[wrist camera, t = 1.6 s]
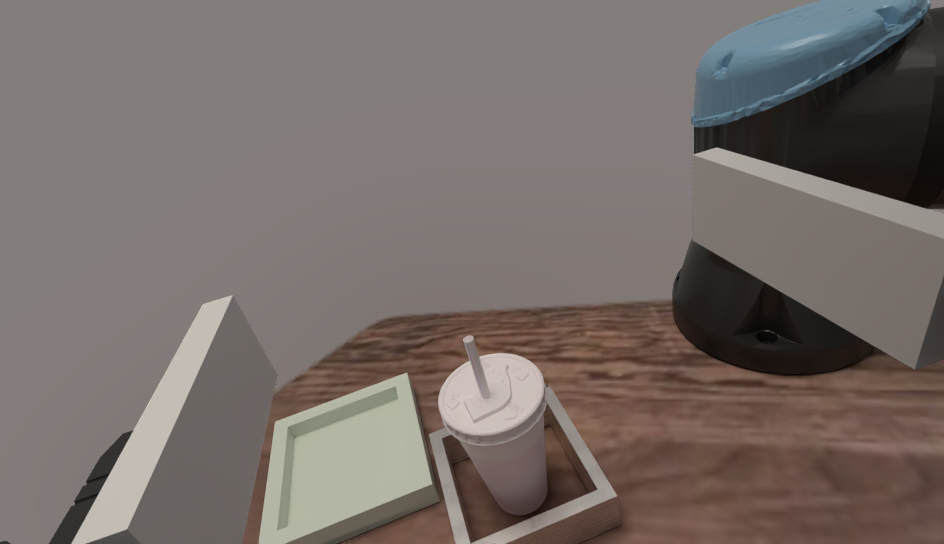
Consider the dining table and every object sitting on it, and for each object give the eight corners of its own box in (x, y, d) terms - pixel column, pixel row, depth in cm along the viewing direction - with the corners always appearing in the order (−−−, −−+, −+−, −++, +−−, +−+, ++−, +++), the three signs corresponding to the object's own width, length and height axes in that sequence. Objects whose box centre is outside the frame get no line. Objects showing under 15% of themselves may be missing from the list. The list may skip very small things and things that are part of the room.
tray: (413, 388, 43) (407, 372, 42) (440, 501, 33) (432, 483, 32) (285, 436, 42) (275, 421, 41) (270, 570, 31) (257, 554, 30)
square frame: (555, 413, 37) (550, 386, 35) (621, 525, 29) (617, 495, 27) (440, 460, 36) (428, 434, 34) (473, 589, 28) (460, 562, 26)
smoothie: (459, 520, 31) (392, 366, 24) (495, 441, 36) (447, 293, 29) (552, 549, 28) (506, 384, 21) (578, 459, 33) (547, 299, 26)
